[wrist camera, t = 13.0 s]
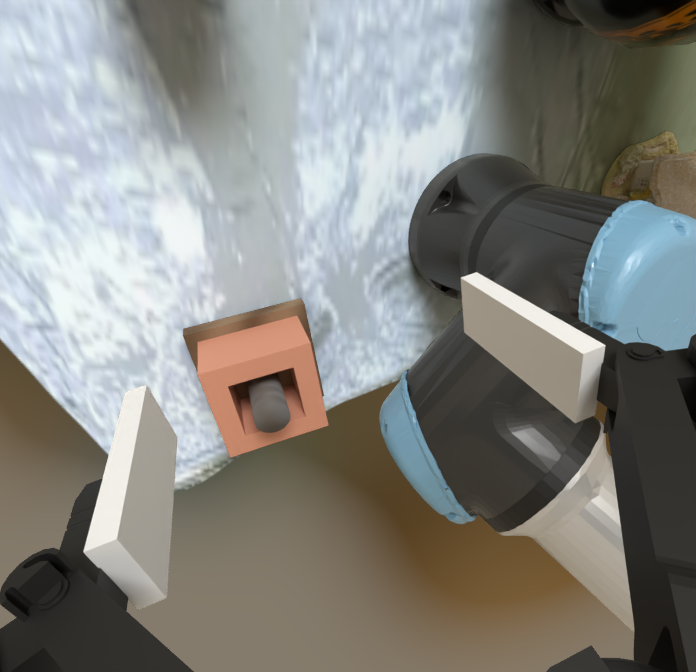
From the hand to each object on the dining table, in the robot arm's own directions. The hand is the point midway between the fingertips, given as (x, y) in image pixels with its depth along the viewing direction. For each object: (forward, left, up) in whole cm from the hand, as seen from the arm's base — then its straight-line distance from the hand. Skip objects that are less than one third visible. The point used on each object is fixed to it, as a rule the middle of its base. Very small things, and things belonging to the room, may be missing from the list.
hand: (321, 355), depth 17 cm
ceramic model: (-46, +7, -26) cm, 53 cm away
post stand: (+3, +15, -25) cm, 30 cm away
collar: (+3, +15, -24) cm, 28 cm away
